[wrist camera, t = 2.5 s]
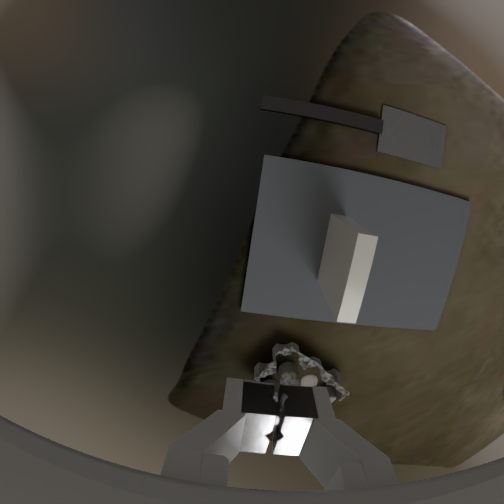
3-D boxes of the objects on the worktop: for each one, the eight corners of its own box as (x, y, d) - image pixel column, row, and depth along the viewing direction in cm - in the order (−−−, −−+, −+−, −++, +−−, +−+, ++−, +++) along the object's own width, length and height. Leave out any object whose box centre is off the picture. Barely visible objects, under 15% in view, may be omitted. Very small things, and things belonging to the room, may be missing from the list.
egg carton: (348, 375, 37) (356, 395, 33) (306, 410, 38) (310, 431, 35) (287, 330, 35) (290, 350, 31) (243, 371, 37) (242, 393, 33)
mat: (469, 201, 30) (472, 202, 30) (433, 328, 35) (435, 330, 34) (264, 154, 30) (264, 154, 29) (241, 308, 34) (240, 311, 34)
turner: (445, 126, 28) (450, 125, 27) (440, 169, 30) (444, 170, 29) (265, 79, 28) (265, 77, 27) (257, 128, 29) (257, 126, 28)
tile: (346, 216, 31) (378, 236, 22) (332, 282, 33) (356, 323, 24) (330, 213, 31) (358, 233, 22) (316, 280, 33) (336, 321, 24)
